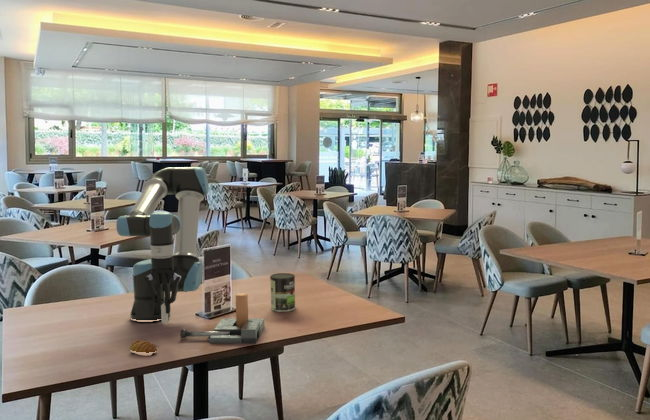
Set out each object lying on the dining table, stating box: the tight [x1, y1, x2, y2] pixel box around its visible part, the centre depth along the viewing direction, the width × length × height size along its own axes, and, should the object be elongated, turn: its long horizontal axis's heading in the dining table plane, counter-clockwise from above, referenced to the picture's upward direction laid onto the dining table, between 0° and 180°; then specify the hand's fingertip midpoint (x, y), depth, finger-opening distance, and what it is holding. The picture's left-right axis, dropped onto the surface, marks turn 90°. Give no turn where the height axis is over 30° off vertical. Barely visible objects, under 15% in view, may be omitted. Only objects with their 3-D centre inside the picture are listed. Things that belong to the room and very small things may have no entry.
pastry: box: [129, 339, 158, 353], centre depth 189 cm, size 9×7×4 cm
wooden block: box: [234, 292, 249, 326], centre depth 208 cm, size 4×4×14 cm
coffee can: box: [269, 272, 296, 313], centre depth 237 cm, size 10×10×14 cm
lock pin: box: [179, 329, 230, 339], centre depth 201 cm, size 17×3×3 cm, turn 87°
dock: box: [206, 317, 265, 344], centre depth 205 cm, size 18×18×5 cm
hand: (165, 322), depth 201 cm, fingers closed
